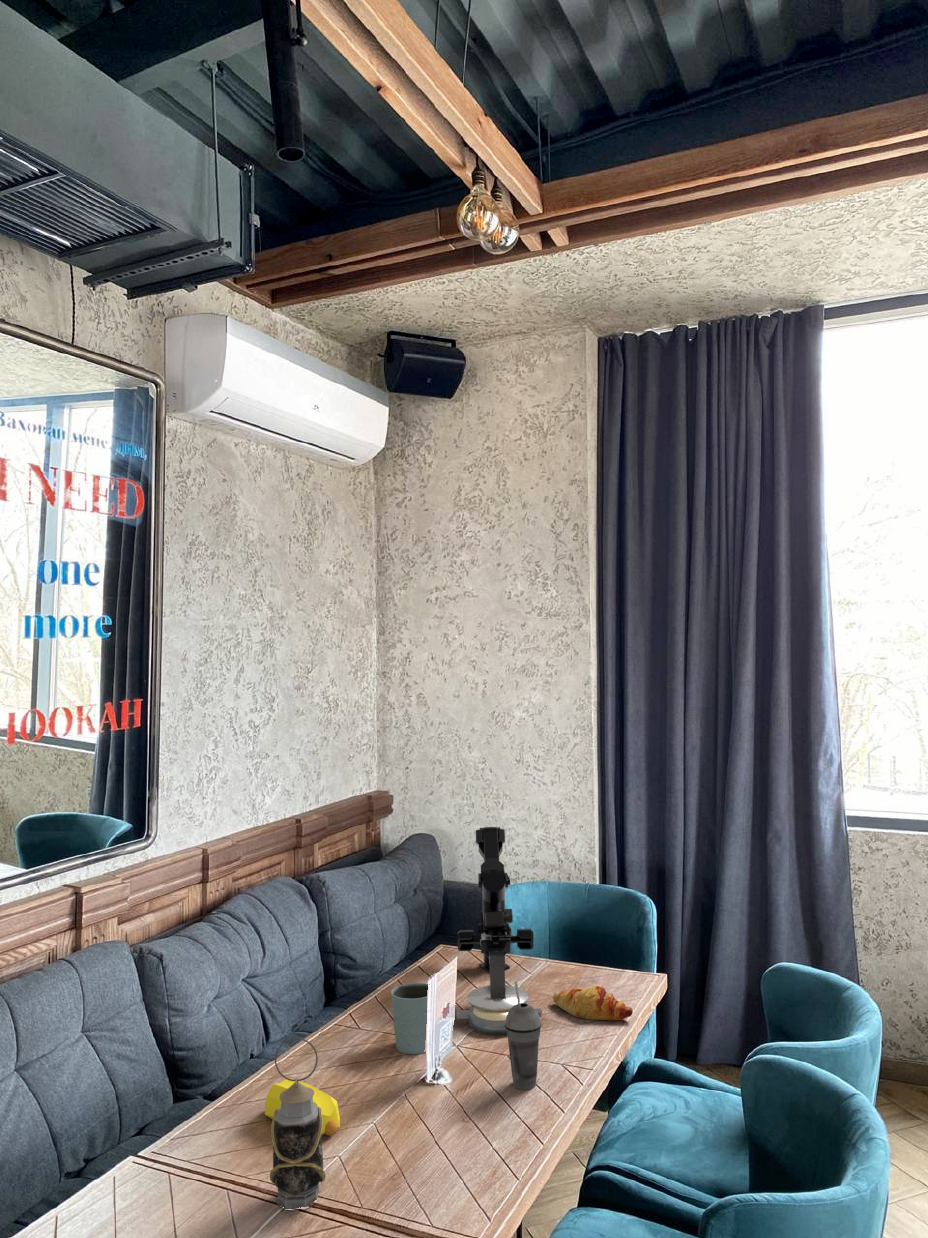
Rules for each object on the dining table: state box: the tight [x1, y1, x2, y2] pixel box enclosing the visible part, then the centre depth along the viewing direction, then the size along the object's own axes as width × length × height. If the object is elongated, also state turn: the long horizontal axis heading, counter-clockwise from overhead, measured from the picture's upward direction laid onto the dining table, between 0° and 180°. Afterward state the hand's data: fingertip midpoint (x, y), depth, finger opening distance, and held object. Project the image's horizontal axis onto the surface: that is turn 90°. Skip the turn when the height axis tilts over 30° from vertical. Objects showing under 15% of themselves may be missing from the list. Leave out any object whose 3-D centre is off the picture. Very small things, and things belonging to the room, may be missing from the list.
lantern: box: [269, 1037, 326, 1210], centre depth 146 cm, size 9×8×25 cm
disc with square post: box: [466, 951, 530, 1011], centre depth 220 cm, size 15×15×11 cm
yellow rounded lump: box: [264, 1077, 341, 1136], centre depth 170 cm, size 18×7×8 cm
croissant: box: [552, 984, 633, 1021], centre depth 218 cm, size 21×10×8 cm, turn 55°
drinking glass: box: [390, 982, 429, 1055], centre depth 202 cm, size 10×10×12 cm
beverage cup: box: [505, 980, 542, 1091], centre depth 183 cm, size 7×7×20 cm
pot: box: [455, 1006, 543, 1037], centre depth 213 cm, size 14×20×3 cm
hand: (496, 972), depth 222 cm, fingers closed
